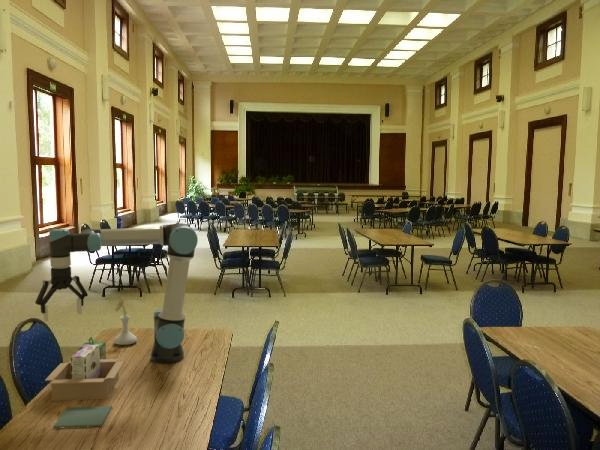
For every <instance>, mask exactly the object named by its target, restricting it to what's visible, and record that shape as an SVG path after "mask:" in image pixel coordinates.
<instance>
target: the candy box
mask: <svg viewBox="0 0 600 450" xmlns="http://www.w3.org/2000/svg"><path fill="white" fill-rule="evenodd" d="M79 349H80V348H79ZM79 349H78V351H77V352H75V353H74V354H73V355H72V356H70V361H71V373H72V379H96V378H101V373H100V346H99V345H85V346H84V347H83V348H82V349H80V350H79Z"/></svg>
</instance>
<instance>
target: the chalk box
mask: <svg viewBox="0 0 600 450" xmlns="http://www.w3.org/2000/svg"><path fill="white" fill-rule="evenodd" d="M85 345H99V346H100V359H107V350H106V349H107V348H106V347H107V346H106V345H107V344H106V342H105V341H94V339H93V337H92V336H90V337H89V338H88V342H84V343H83V344H82V345H81V346H80V348H78V351H79V350H80V349H82V348H83V347H84V346H85Z"/></svg>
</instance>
